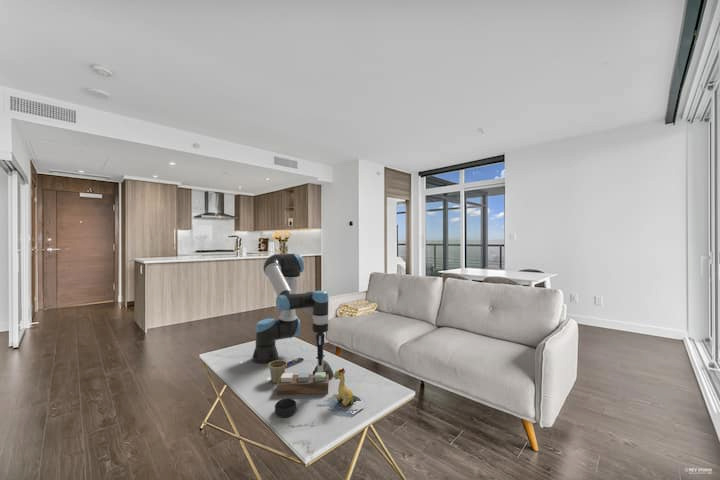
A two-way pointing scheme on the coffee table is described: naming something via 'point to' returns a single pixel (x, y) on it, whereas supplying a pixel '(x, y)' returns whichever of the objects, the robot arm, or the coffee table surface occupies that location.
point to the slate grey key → (303, 377)
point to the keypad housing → (303, 386)
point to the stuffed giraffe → (341, 397)
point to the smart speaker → (285, 407)
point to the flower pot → (277, 369)
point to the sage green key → (320, 376)
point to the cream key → (287, 377)
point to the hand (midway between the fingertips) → (320, 370)
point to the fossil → (325, 369)
